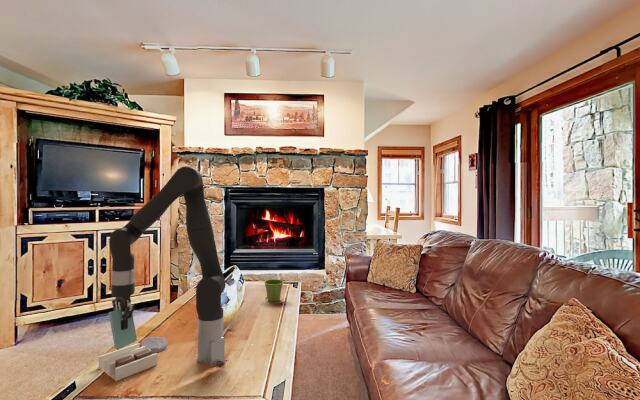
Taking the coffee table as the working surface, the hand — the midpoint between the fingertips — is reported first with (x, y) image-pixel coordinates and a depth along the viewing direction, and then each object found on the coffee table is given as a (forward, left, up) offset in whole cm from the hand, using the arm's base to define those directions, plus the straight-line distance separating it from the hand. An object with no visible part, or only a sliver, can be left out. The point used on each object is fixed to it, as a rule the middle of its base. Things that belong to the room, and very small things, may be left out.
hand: (122, 328), depth 126 cm
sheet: (0, -1, -6) cm, 7 cm away
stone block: (+3, -14, -15) cm, 20 cm away
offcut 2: (-9, -3, -13) cm, 16 cm away
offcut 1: (-9, +3, -13) cm, 16 cm away
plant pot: (+12, -92, -14) cm, 94 cm away
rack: (-5, 0, -14) cm, 15 cm away
